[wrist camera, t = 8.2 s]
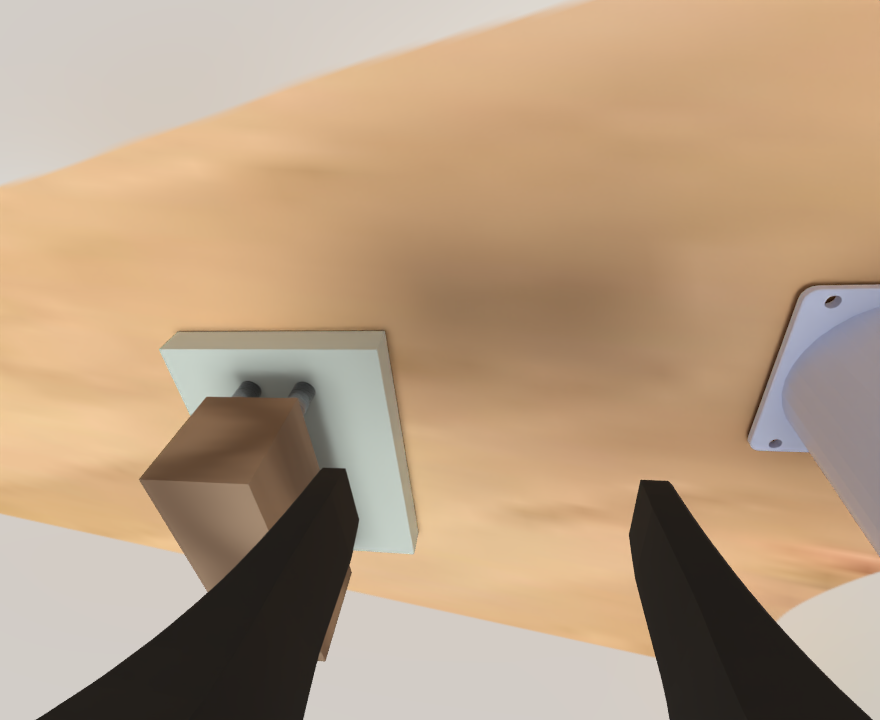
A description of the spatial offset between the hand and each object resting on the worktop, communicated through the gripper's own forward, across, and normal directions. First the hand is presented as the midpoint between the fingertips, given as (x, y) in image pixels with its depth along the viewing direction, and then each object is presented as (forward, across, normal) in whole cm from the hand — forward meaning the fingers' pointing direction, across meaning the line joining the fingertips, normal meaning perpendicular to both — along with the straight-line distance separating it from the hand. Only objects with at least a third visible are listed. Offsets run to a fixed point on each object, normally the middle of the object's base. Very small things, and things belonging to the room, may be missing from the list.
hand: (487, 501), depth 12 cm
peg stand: (+10, +10, +8) cm, 16 cm away
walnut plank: (+6, +10, +8) cm, 14 cm away
